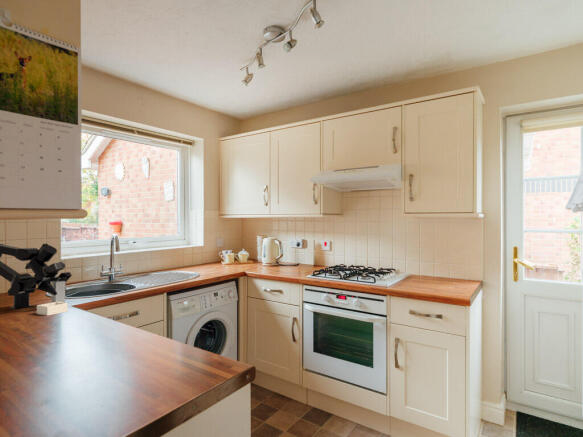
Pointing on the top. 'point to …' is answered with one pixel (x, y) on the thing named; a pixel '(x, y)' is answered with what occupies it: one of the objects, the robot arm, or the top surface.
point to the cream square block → (52, 308)
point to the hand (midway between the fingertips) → (61, 293)
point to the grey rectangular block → (59, 291)
